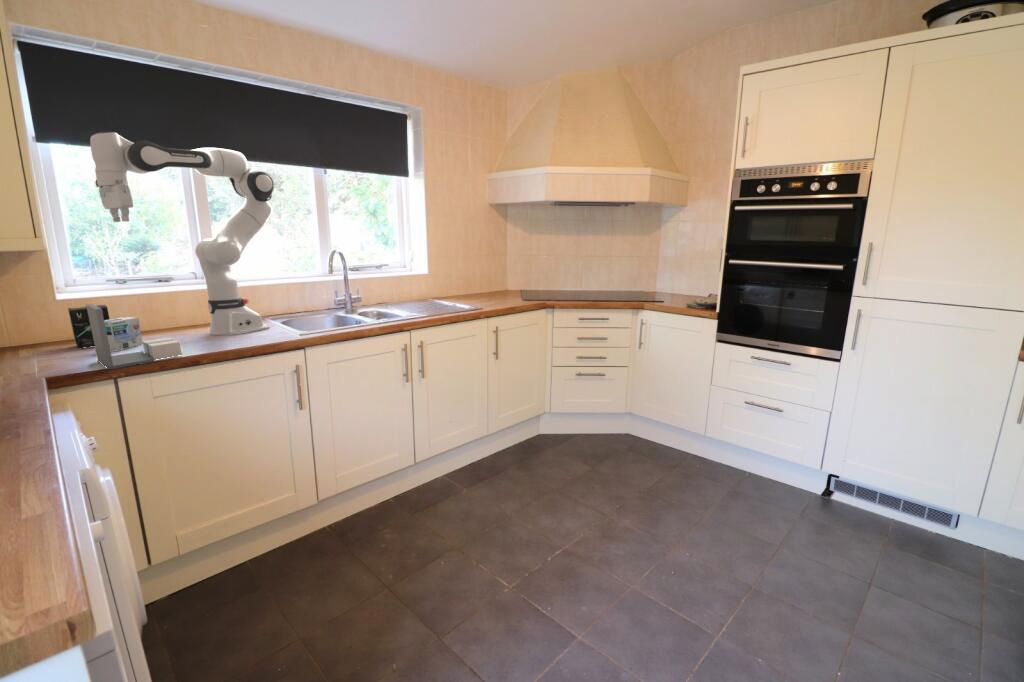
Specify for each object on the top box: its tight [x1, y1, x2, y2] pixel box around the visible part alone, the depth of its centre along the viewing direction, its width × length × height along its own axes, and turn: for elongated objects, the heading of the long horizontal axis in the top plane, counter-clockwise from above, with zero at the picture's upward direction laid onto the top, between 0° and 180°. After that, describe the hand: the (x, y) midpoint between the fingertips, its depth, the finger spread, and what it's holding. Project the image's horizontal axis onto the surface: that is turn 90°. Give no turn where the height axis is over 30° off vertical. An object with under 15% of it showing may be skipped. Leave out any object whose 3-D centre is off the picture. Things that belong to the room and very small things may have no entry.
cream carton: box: [142, 336, 183, 361], centre depth 166 cm, size 8×12×5 cm, turn 48°
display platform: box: [85, 303, 155, 370], centre depth 156 cm, size 12×16×19 cm
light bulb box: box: [104, 316, 144, 351], centre depth 177 cm, size 11×7×11 cm, turn 168°
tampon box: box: [67, 304, 111, 349], centre depth 181 cm, size 11×9×15 cm
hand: (121, 221), depth 171 cm, fingers open, 8 cm apart
